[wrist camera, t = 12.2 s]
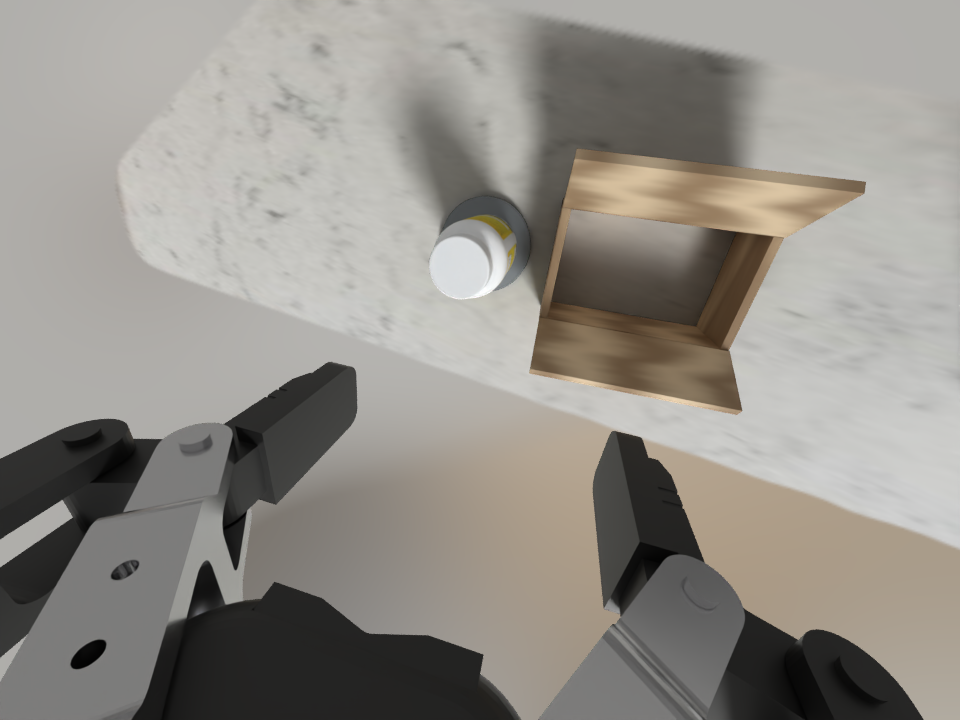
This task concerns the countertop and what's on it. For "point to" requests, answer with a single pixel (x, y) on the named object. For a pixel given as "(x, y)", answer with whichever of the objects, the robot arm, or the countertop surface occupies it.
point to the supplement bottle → (472, 256)
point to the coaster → (509, 216)
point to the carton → (705, 348)
